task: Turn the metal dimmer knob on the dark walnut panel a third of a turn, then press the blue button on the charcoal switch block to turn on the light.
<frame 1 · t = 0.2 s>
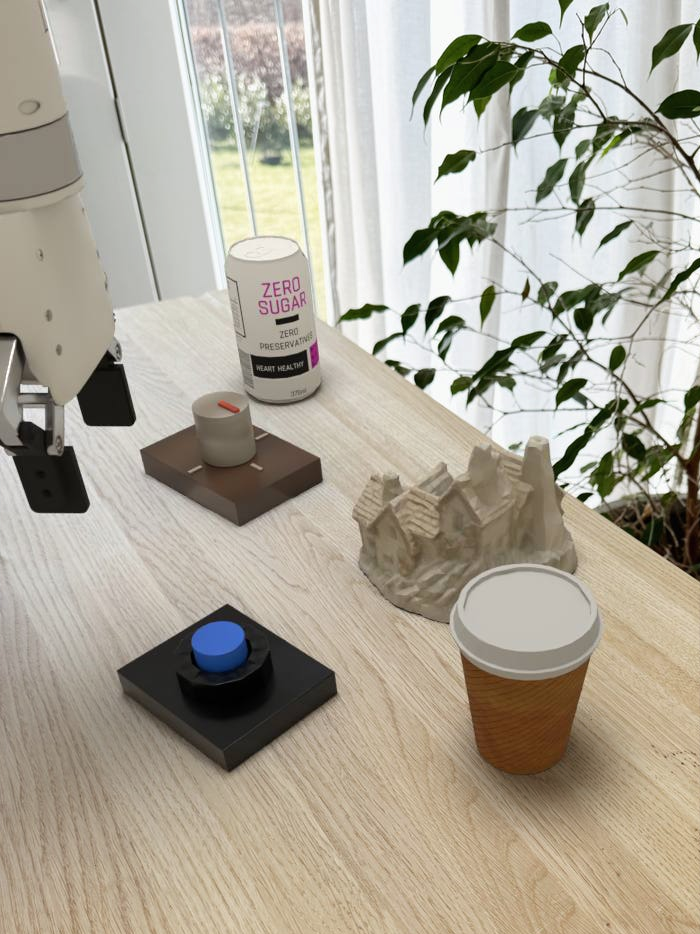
hand: (88, 464, 60), 19 cm above the table, tool pointing down, fingers open, 9 cm apart
disposable coffee cup: (521, 742, 69), on the table
white soda can: (284, 389, 109), on the table
switch block: (230, 693, 73), on the table
light button: (220, 647, 70), point 4 cm above the table, slide at 0.1 cm
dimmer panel: (233, 476, 95), on the table
dimmer knob: (224, 427, 91), point 5 cm above the table, hinge at 0.0°
ceramic cottage: (469, 566, 85), on the table
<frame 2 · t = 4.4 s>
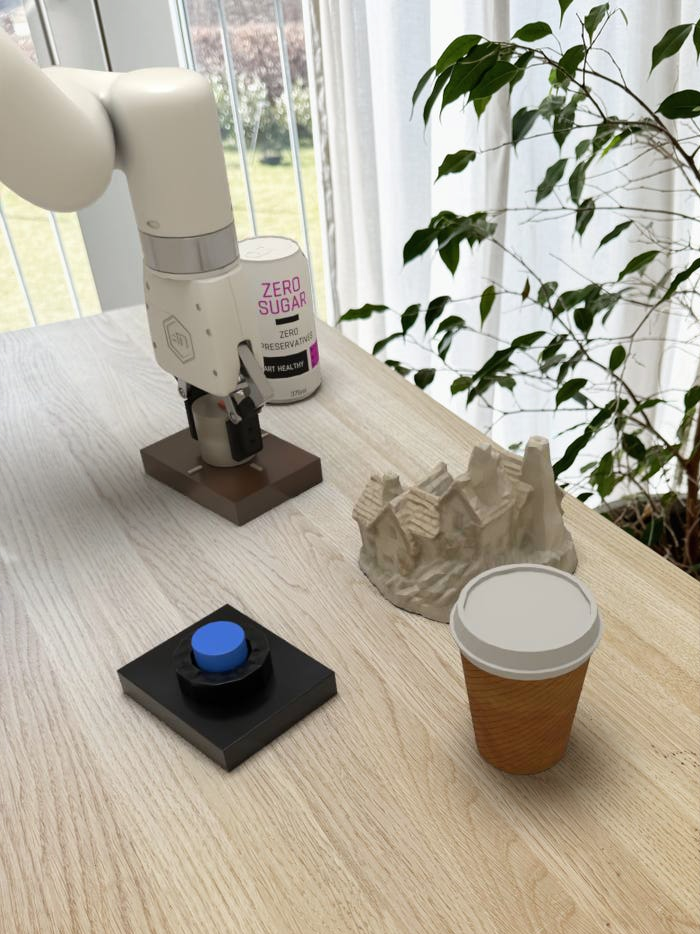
hand: (227, 442, 93), 4 cm above the table, tool pointing down, fingers closed on dimmer knob, 5 cm apart
dimmer knob: (224, 427, 91), point 5 cm above the table, hinge at -0.1°, touching gripper
everything else where it was.
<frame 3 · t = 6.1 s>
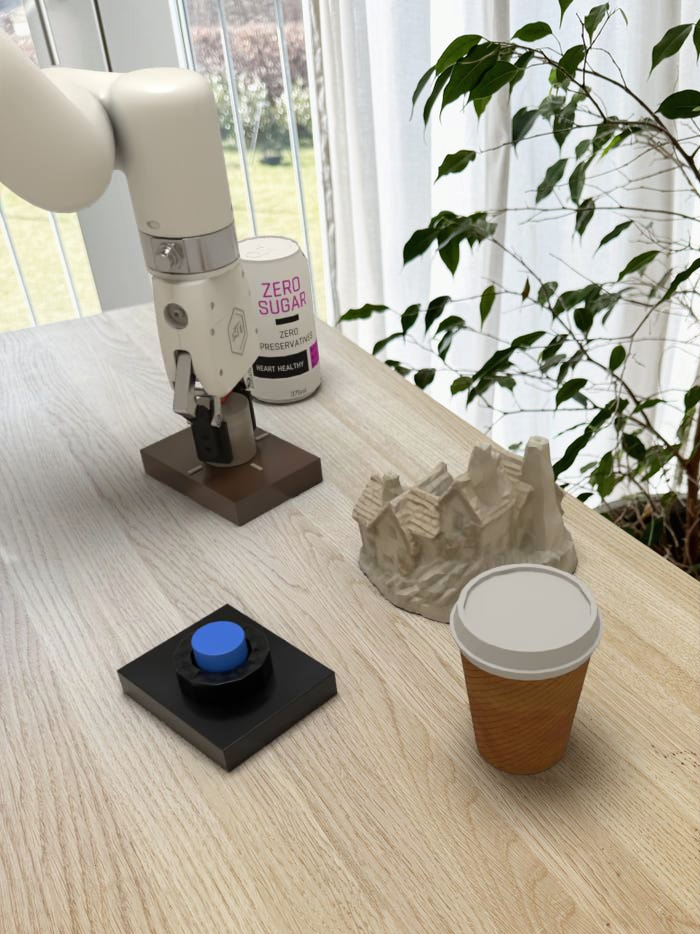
hand: (228, 443, 93), 4 cm above the table, tool pointing down, fingers closed on dimmer knob, 5 cm apart
dimmer knob: (224, 427, 91), point 5 cm above the table, hinge at 120.0°, touching gripper
everything else where it was.
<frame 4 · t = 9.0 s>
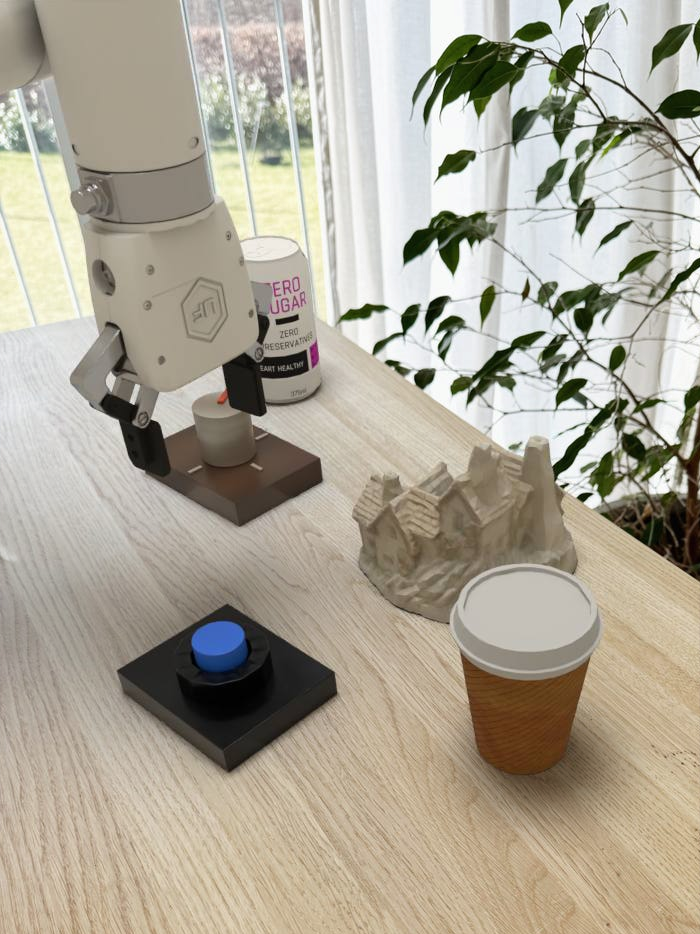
hand: (202, 439, 72), 14 cm above the table, tool pointing down, fingers open, 9 cm apart
dimmer knob: (224, 427, 91), point 5 cm above the table, hinge at 121.3°
everything else where it was.
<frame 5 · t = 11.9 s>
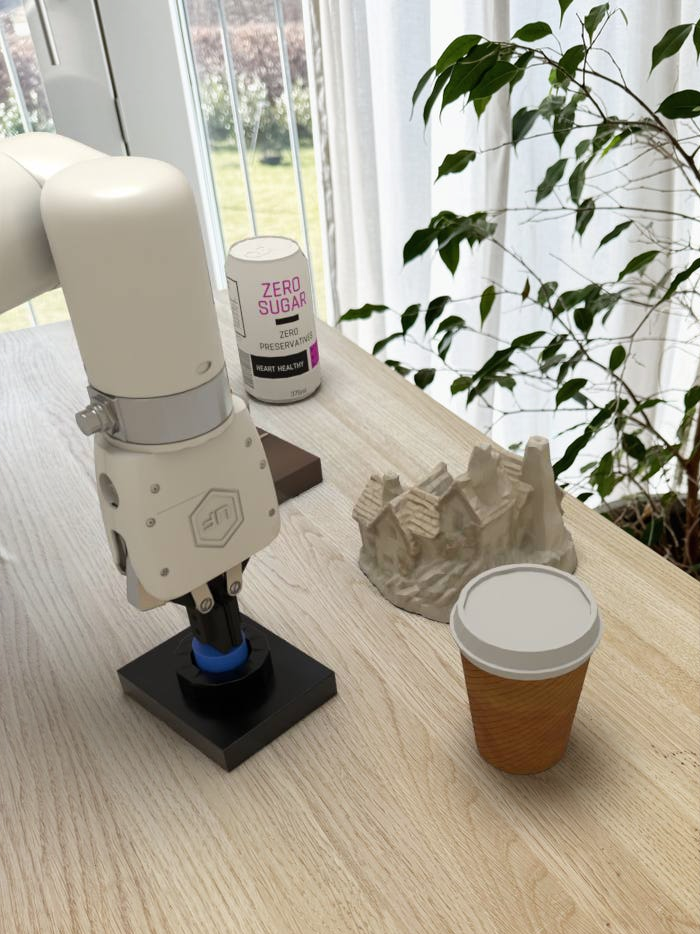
hand: (220, 640, 69), 5 cm above the table, tool pointing down, fingers closed
light button: (220, 649, 70), point 4 cm above the table, slide at -0.2 cm, touching gripper
everything else where it was.
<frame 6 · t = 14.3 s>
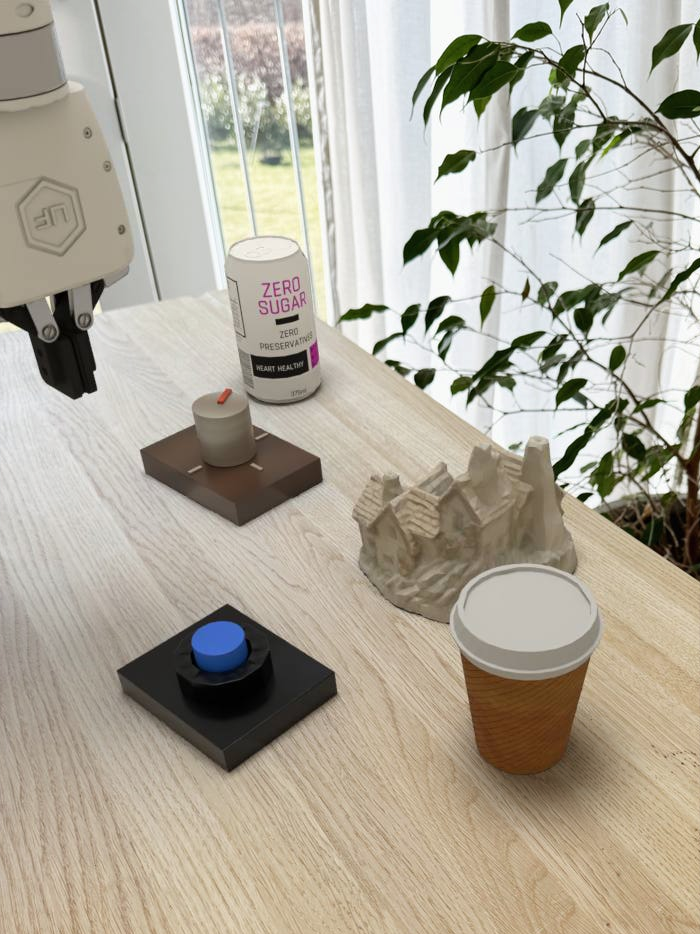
hand: (73, 388, 64), 21 cm above the table, tool pointing down, fingers closed
light button: (220, 647, 70), point 4 cm above the table, slide at 0.1 cm
everything else where it was.
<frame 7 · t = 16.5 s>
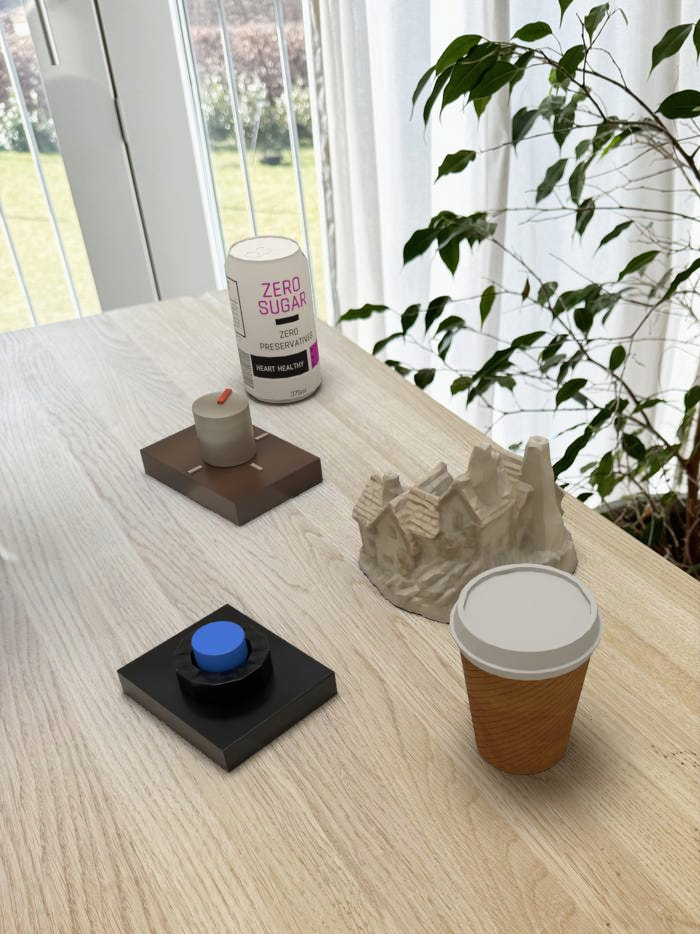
nothing on the table moved.
at the end: dimmer knob at +121° (first picture: +0°); light button pushed in 1.1 cm at the most during the clip, back to where it started at the end; light button slide at 0.1 cm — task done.
